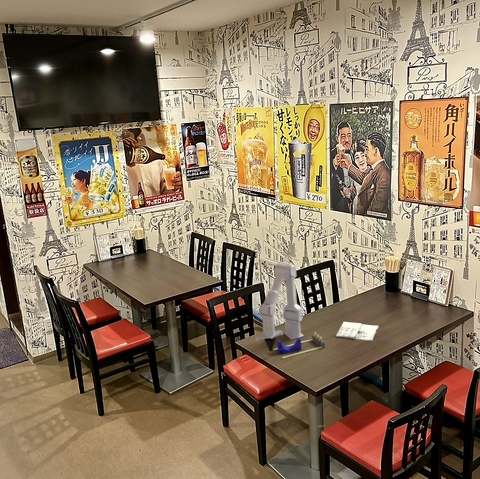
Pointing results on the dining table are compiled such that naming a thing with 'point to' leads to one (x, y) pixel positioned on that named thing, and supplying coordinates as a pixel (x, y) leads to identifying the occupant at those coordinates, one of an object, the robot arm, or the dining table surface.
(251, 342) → the dining table surface
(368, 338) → the open book
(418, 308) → the dining table surface
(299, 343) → the cable clip
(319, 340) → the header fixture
